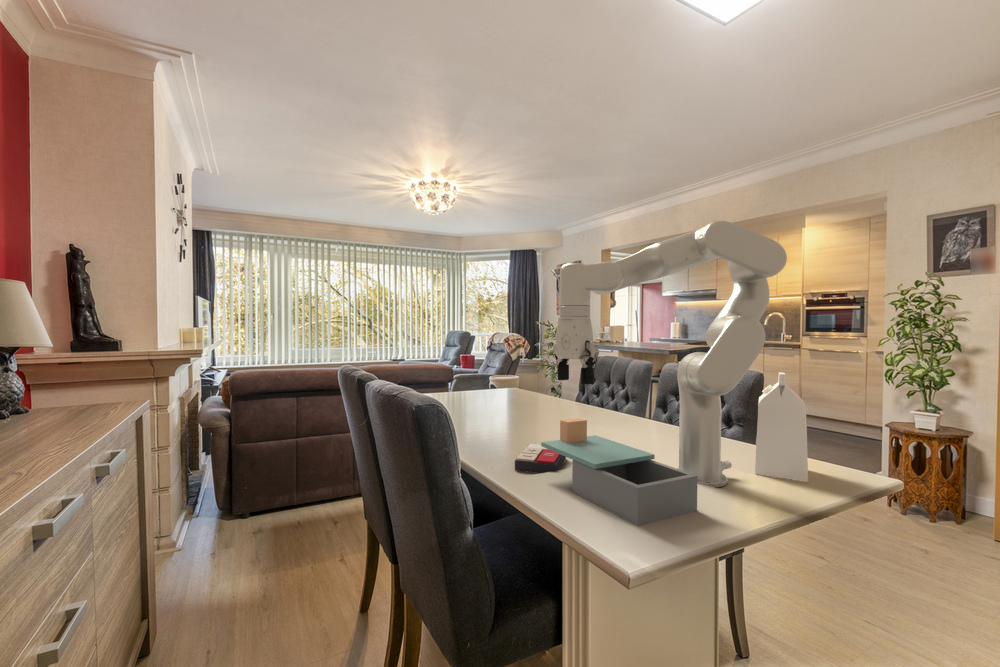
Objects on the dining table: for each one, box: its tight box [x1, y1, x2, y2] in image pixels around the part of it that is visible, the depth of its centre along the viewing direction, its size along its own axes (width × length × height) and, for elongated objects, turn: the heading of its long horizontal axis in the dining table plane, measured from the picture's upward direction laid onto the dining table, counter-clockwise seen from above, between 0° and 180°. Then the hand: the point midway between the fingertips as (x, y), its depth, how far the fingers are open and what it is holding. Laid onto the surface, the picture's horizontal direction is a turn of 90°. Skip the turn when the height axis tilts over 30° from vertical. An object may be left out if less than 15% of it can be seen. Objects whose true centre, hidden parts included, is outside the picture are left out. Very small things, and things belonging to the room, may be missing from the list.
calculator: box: [514, 443, 567, 474], centre depth 127 cm, size 11×4×15 cm
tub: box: [571, 459, 698, 527], centre depth 98 cm, size 16×20×8 cm
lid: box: [540, 417, 656, 469], centre depth 109 cm, size 17×20×6 cm
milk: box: [754, 371, 809, 483], centre depth 122 cm, size 12×12×26 cm
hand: (574, 382), depth 116 cm, fingers open, 9 cm apart
